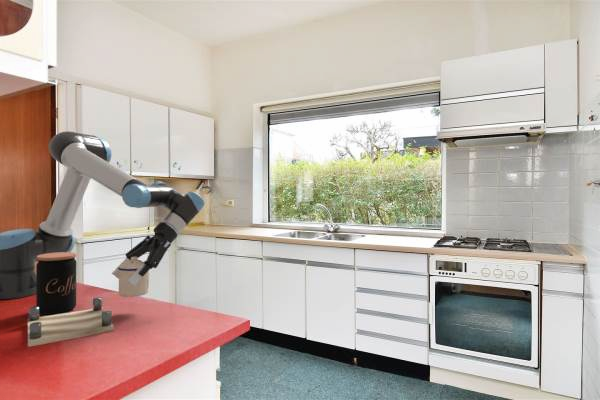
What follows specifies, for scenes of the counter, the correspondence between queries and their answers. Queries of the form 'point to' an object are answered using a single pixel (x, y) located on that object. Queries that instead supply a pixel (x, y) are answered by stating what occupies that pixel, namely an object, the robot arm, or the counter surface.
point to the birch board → (69, 326)
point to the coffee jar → (56, 283)
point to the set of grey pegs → (36, 327)
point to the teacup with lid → (125, 273)
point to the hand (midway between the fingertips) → (122, 279)
